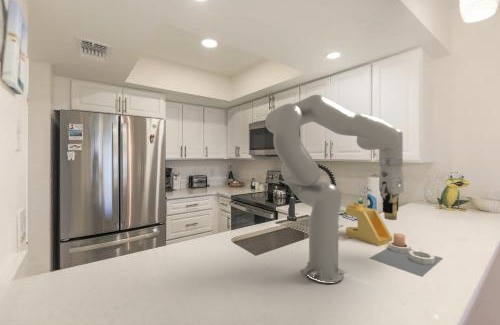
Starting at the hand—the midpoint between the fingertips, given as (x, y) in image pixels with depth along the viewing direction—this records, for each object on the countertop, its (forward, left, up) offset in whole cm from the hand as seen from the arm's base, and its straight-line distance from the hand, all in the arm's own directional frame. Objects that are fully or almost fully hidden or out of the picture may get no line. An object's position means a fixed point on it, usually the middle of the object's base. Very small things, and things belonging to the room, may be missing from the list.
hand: (390, 211), depth 86 cm
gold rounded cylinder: (0, 0, -3) cm, 3 cm away
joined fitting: (+13, +2, -18) cm, 22 cm away
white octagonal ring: (+9, -7, -18) cm, 22 cm away
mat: (+6, -3, -19) cm, 21 cm away
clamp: (+16, +18, -20) cm, 31 cm away
